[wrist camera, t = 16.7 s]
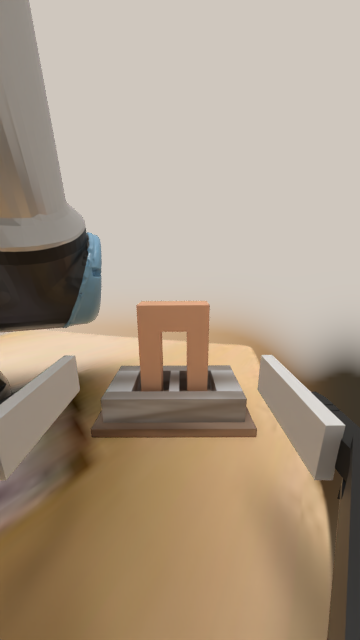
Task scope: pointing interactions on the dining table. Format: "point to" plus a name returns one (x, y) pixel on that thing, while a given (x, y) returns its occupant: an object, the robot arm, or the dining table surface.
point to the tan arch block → (173, 318)
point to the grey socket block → (174, 406)
